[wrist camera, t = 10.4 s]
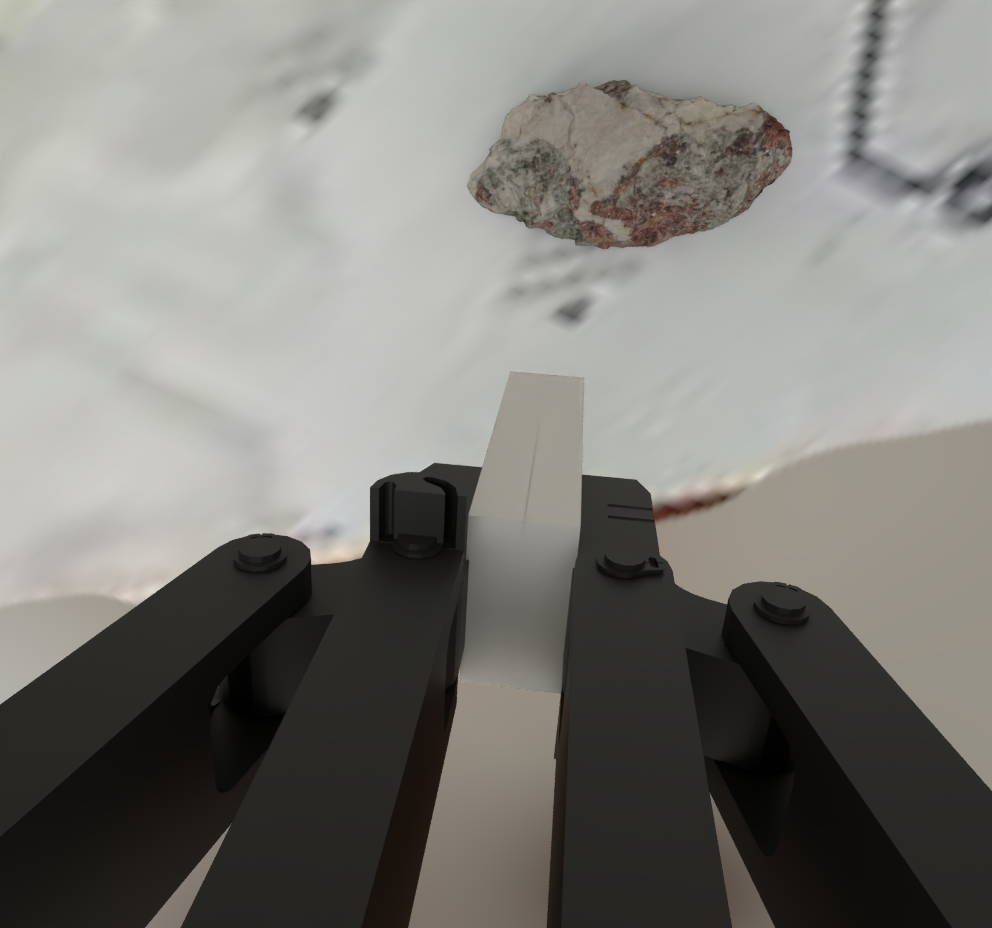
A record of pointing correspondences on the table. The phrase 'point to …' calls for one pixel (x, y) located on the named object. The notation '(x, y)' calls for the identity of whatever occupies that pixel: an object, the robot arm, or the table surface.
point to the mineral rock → (629, 164)
